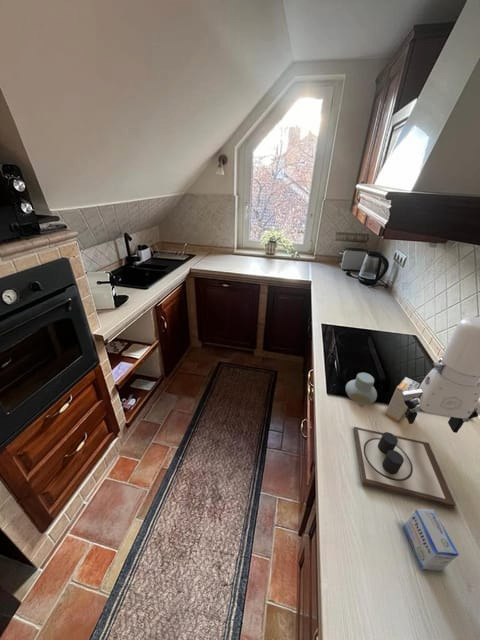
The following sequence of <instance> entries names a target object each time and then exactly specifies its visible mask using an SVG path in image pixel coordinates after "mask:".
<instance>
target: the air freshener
mask: <svg viewBox="0 0 480 640" xmlns="http://www.w3.org/2000/svg"><path fill="white" fill-rule="evenodd" d="M374 383H375V378H374V377H373V376H372V375H371V374H369V373H367V372H358V373H357V374H356V377H355V379H350V380H349V381H347V383H346V384H345V393H346V395H347V396H348V398H349V399H351V400H352V401H353V402H355V403H358V404H359V405H360V404H361V405H370V404H374V403H375V402H376V400H377V398H378V392H377V390H376V388H375V386H374Z"/></svg>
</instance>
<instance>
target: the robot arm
mask: <svg viewBox="0 0 480 640" xmlns="http://www.w3.org/2000/svg"><path fill="white" fill-rule="evenodd" d="M430 367H431V369H430V371H429V372H428V373H427V374H426V376H425V377H424V379H423V380H422V382H421V383H420V385H419V387H418V389H416V390H409V391H403V392H401V394H402V397H403V400H404V402H405V405H406V406H407V407H408V408H407V410H406V411H405V413H404V417H405V419H407V423H408V424H409V425H413V424H414V423H415V420H416V418H417V416H418V412H419V411H423V412H425V413H428V414H434V415H440V416H445V417H449V419H448V421H447V424H448V425H449V428H450V429H451V431H452V432H453V433H455V434H457V433H458V432H459V431H460V429H461V428H462V426H463V425H464V423H468V422H469V421H470V420H471V419H474V418H478V417H479V415H480V401H479V399H480V317H478V316H468V317H464V318H461V319H460V320H459V321H458V323H457V324H456V327H455V328H454V331H453V333H452V335H451V336H450V338H449V341H448V343H447V345H446V348H445V349H444V351H443V353H442V355H441V357H440V358H439V360H438V362H432V363H431V366H430ZM410 398H413V399H412V400H410Z"/></svg>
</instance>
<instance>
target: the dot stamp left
mask: <svg viewBox="0 0 480 640" xmlns="http://www.w3.org/2000/svg"><path fill="white" fill-rule="evenodd" d="M382 433H383V435H382V437H381V439H380V441H379V443H378V448H379V450H380V451H381V452H382V453H384V454H387V452H388V451H389V450H394V448H395V446H396V444H397V443H398V440H397V438H396V436H397V435H395V434H393V433H391V432H388V431H385V432H382Z"/></svg>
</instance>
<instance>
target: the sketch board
mask: <svg viewBox="0 0 480 640" xmlns="http://www.w3.org/2000/svg"><path fill="white" fill-rule="evenodd" d="M352 430H353V437H354V444H355V449H356V456H357V462H358V469H359V475H360V482H361V483H360V484H361V486H366V487H370V488H373V489H377V490H381V491H385V492H388V493H389V492H390V493H393V494H397V495H400V496H404V497H409V498H411V499H416V500H420V501H424V502H426V503H432V504H435V505H438V506H442V507H446V508H451V509H455V507H457V505H456V502H455V500H454V498H453V495H452V494H451V491H450V489H449V487H448V484H447V482H446V479H445V477H444V475H443V473H442V472H443V471H442V470H441V468H440V466H439V463H438V461H437V458H436V456H435V454H434V452H433V449H432V447H431V444H430V443H429V442H425V441H422V440H418V439H417V440H416V439H413V438H408V437H403V436H398V435H395V436H396V438H397V440H398V443H397V444H396V446H395V448H394V450H395V451H397V452H399V453H400V454H401V455H402V457H403V459H404V462H403V464H402V465H401V467H400V469H399V471H398V472H397V474H390V473H388V472H387V471H385V469H384V468H383V466H382V462H383V460H384V458H385V456H386V454H384V453H382V452H381V451H380V450H379V448H378V443H379V441H380V439H381V437H382V435H383V433H384V432H379V431H376V430H371V429H367V428H362V427H356V426H353V429H352Z"/></svg>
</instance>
